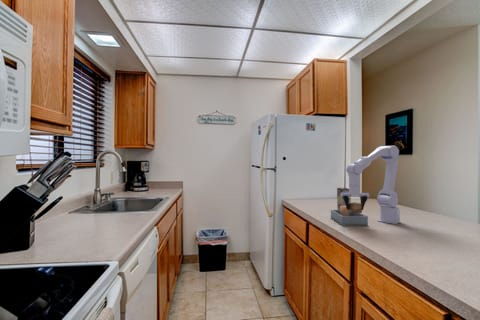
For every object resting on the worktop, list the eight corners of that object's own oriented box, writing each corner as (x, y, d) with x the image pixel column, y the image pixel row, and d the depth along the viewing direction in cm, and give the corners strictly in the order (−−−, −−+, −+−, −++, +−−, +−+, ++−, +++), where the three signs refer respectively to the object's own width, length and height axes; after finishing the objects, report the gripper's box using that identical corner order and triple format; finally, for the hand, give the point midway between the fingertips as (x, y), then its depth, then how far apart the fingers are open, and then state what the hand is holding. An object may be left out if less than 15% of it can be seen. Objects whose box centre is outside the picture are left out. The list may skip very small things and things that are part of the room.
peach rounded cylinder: (350, 218, 147) (350, 206, 147) (346, 219, 144) (346, 207, 144) (342, 216, 151) (342, 205, 151) (338, 217, 148) (338, 206, 148)
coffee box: (336, 209, 176) (336, 187, 176) (345, 209, 176) (345, 187, 176) (341, 212, 167) (341, 189, 167) (351, 212, 167) (351, 189, 167)
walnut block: (361, 212, 135) (361, 203, 135) (354, 213, 133) (354, 204, 133) (354, 211, 140) (354, 202, 140) (347, 211, 138) (347, 202, 138)
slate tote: (330, 217, 153) (330, 209, 153) (353, 217, 152) (353, 209, 152) (341, 225, 135) (341, 216, 135) (367, 225, 134) (367, 216, 134)
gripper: (366, 184, 139) (366, 208, 139) (339, 184, 142) (339, 207, 142) (370, 186, 132) (370, 211, 132) (341, 185, 135) (342, 210, 135)
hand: (354, 209), depth 136 cm, fingers closed on walnut block, 7 cm apart
